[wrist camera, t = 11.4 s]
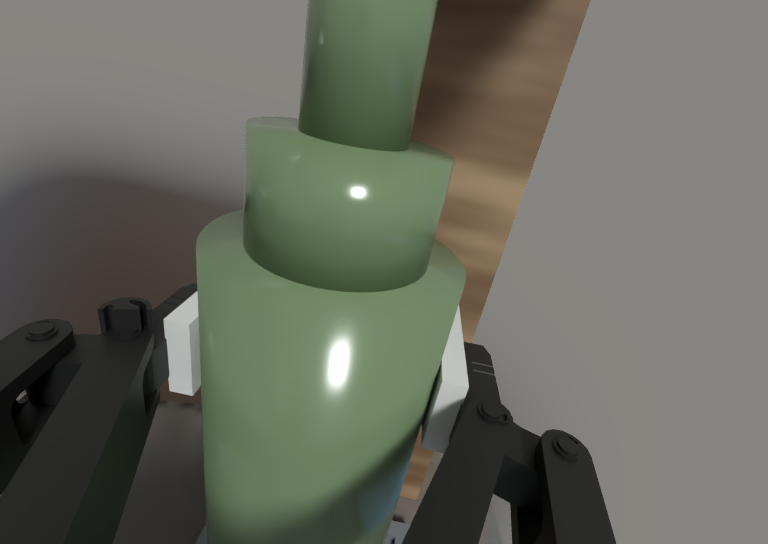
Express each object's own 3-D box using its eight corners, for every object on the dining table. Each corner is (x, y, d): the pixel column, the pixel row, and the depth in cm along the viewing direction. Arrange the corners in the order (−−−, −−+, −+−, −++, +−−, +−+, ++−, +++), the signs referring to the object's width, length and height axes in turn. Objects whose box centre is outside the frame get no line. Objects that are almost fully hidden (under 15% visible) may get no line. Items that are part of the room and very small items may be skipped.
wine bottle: (180, 630, 19) (78, -332, 6) (293, 520, 25) (371, -100, 12) (276, 779, 16) (558, -747, 2) (381, 612, 22) (641, -124, 8)
